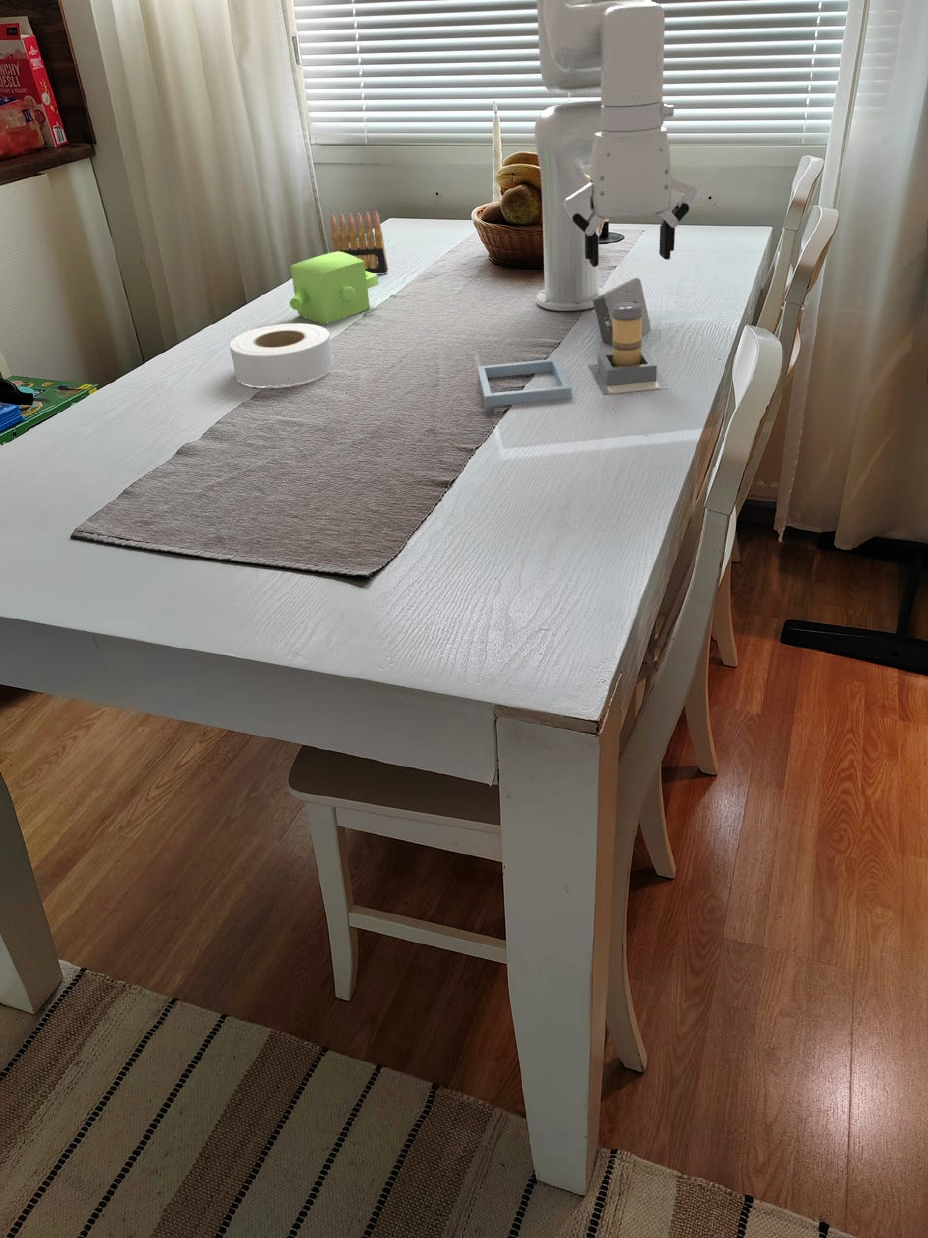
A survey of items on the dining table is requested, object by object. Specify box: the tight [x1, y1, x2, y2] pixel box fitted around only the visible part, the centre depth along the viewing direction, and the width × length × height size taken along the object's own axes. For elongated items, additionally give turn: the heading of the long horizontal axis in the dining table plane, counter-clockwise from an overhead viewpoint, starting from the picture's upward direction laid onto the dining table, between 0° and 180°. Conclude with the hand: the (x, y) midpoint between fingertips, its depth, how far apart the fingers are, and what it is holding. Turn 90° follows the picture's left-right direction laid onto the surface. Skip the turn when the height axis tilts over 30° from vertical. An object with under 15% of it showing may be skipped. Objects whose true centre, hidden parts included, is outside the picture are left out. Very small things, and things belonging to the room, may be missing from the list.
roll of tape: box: [229, 323, 335, 387], centre depth 156 cm, size 16×16×6 cm
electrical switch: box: [593, 277, 652, 345], centre depth 154 cm, size 9×5×9 cm, turn 141°
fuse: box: [611, 302, 643, 367], centre depth 139 cm, size 4×4×10 cm
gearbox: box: [289, 251, 379, 324], centre depth 178 cm, size 18×10×10 cm, turn 131°
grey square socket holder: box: [587, 348, 668, 396], centre depth 141 cm, size 12×9×4 cm
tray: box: [476, 357, 572, 414], centre depth 141 cm, size 12×12×2 cm
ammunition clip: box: [330, 210, 389, 273], centre depth 199 cm, size 11×2×12 cm, turn 85°
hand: (629, 260), depth 132 cm, fingers open, 9 cm apart
